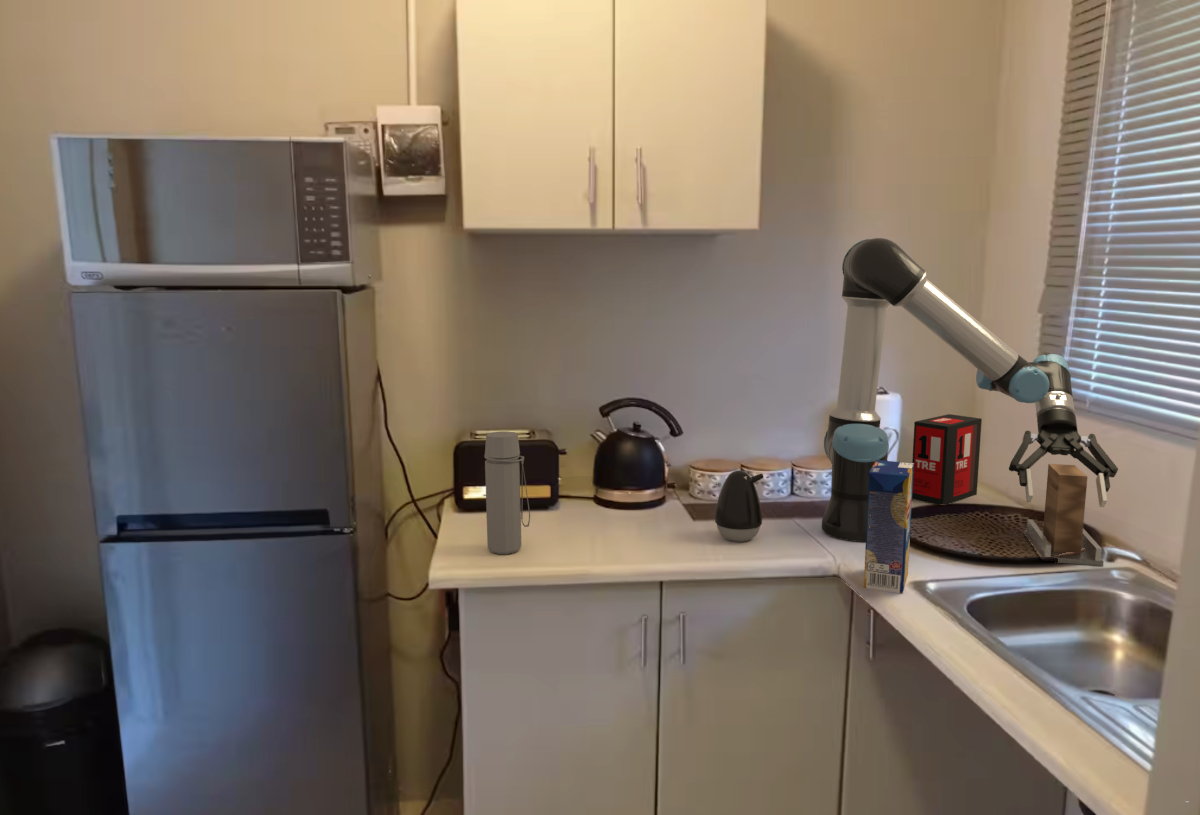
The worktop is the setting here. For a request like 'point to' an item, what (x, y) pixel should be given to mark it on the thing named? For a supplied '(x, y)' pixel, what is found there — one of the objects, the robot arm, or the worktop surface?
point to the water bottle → (503, 492)
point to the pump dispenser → (739, 507)
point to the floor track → (1085, 558)
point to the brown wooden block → (1065, 507)
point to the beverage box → (888, 525)
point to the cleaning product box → (946, 458)
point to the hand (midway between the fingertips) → (1066, 501)
